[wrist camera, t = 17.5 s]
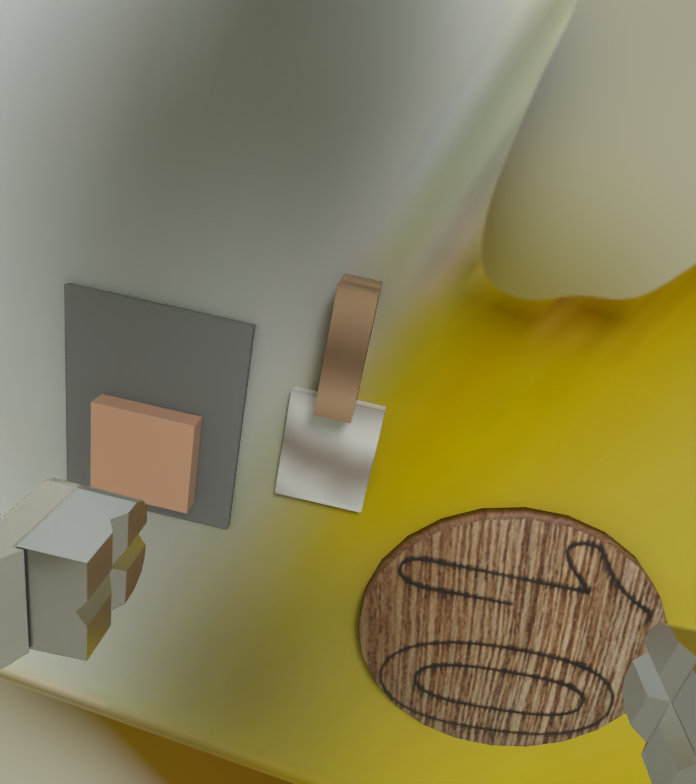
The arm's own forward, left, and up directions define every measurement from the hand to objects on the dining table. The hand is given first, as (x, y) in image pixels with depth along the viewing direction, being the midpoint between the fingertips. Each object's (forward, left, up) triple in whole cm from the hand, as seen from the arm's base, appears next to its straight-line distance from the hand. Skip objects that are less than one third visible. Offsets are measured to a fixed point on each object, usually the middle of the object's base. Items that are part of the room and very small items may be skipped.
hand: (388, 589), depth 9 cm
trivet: (+29, +15, -32) cm, 45 cm away
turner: (+11, -3, -31) cm, 33 cm away
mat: (+16, -17, -31) cm, 39 cm away
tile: (+15, -17, -30) cm, 37 cm away
